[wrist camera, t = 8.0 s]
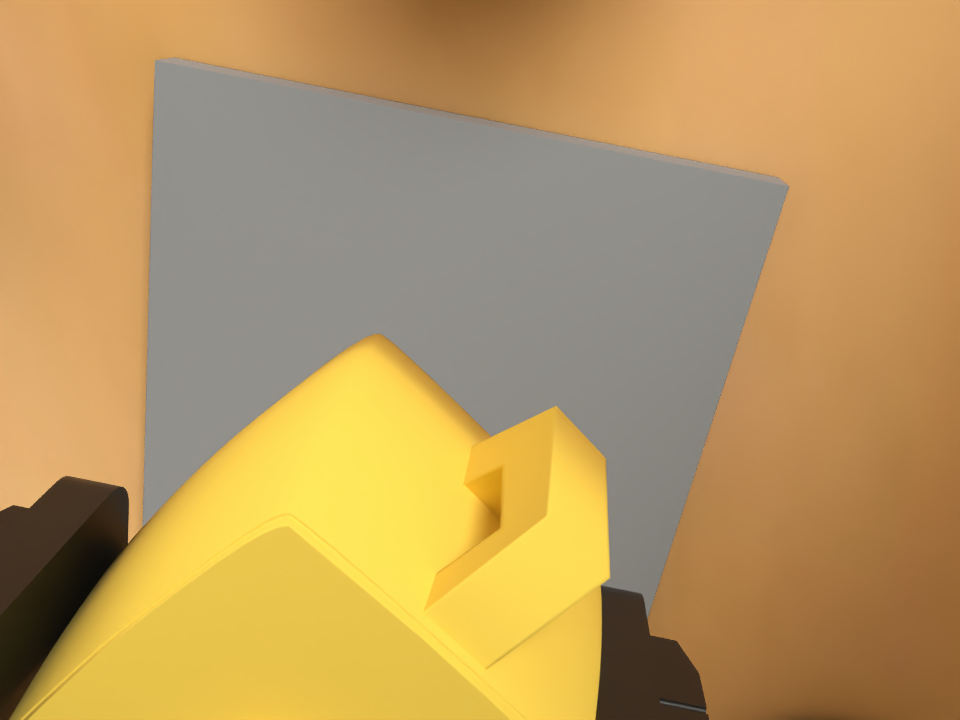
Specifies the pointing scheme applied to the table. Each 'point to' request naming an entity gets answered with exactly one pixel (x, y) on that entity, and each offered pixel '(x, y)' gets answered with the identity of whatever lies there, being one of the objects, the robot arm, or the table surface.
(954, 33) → the table surface
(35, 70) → the table surface
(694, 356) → the slate mat
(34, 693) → the teapot
